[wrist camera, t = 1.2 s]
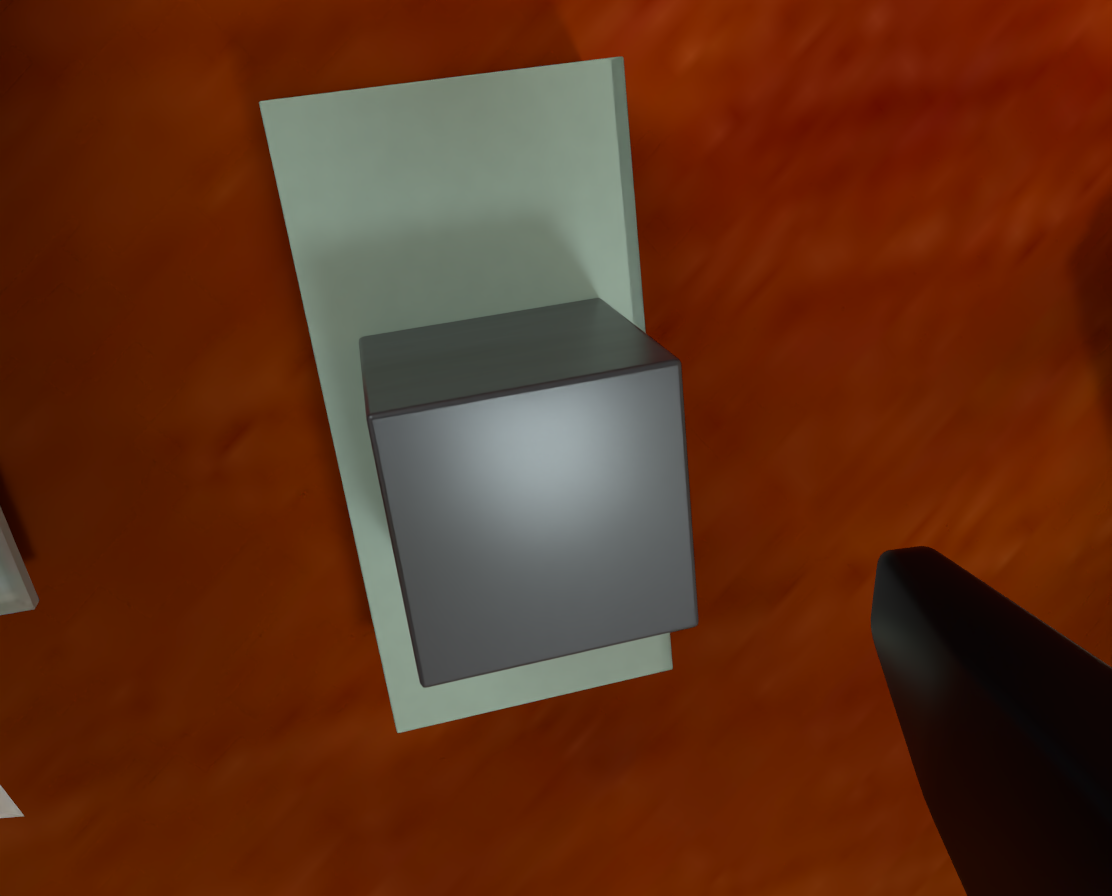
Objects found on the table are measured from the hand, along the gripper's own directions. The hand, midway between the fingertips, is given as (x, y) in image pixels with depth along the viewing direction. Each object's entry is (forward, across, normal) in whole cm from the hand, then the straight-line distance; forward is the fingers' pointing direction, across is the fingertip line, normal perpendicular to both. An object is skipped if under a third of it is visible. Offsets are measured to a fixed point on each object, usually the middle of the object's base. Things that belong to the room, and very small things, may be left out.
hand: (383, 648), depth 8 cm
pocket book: (+14, 0, +6) cm, 15 cm away
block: (+11, -1, +5) cm, 12 cm away
